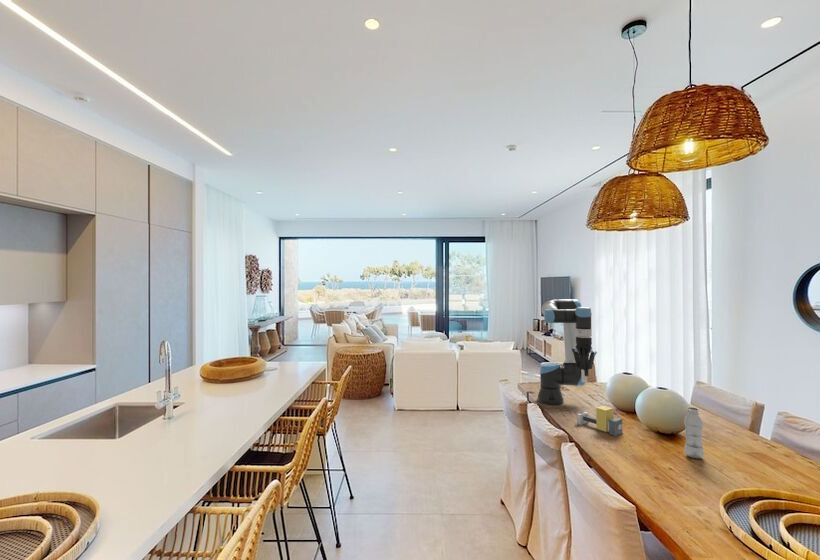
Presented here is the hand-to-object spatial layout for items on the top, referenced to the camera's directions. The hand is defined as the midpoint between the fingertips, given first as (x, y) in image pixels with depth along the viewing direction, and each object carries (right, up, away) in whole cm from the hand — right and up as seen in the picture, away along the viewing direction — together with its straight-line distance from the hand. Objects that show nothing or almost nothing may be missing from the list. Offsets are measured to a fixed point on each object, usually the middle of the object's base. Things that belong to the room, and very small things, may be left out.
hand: (584, 381), depth 198 cm
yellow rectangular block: (+6, -21, -10) cm, 24 cm away
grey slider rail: (+4, -21, -7) cm, 23 cm away
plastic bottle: (+27, -21, -40) cm, 53 cm away
